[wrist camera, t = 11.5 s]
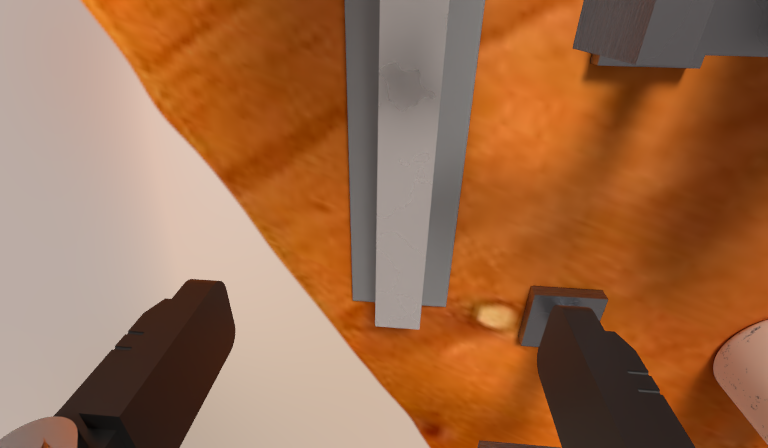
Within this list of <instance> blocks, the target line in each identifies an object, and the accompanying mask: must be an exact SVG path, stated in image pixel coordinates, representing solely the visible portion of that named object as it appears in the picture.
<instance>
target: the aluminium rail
mask: <svg viewBox="0 0 768 448" xmlns="http://www.w3.org/2000/svg"><path fill="white" fill-rule="evenodd" d="M449 1H450V0H380V27H379V95H378V163H377V231H376V300H375V326H379V327H392V328H406V329H419V327H420V316H421V305H422V295H423V284H424V273H425V262H426V251H427V240H428V229H429V218H430V208H431V197H432V186H433V175H434V164H435V153H436V142H437V131H438V120H439V110H440V99H441V88H442V77H443V66H444V55H445V44H446V33H447V22H448V12H449Z"/></svg>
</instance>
